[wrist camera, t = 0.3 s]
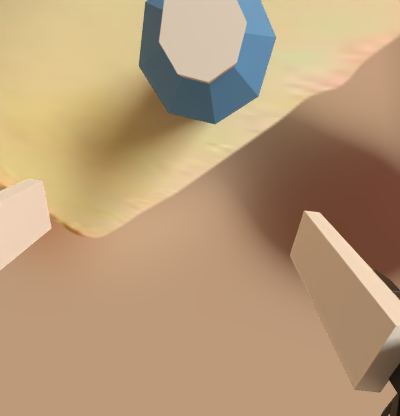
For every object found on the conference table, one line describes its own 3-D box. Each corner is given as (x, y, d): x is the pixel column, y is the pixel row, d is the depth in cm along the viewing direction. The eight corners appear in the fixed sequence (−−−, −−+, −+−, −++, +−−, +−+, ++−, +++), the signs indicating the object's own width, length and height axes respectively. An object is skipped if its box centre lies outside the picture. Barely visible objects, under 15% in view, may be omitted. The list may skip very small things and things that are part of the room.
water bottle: (183, 116, 36) (134, 148, 14) (169, 43, 32) (70, -80, 10) (245, 104, 35) (304, 120, 13) (238, 28, 31) (307, -149, 9)
